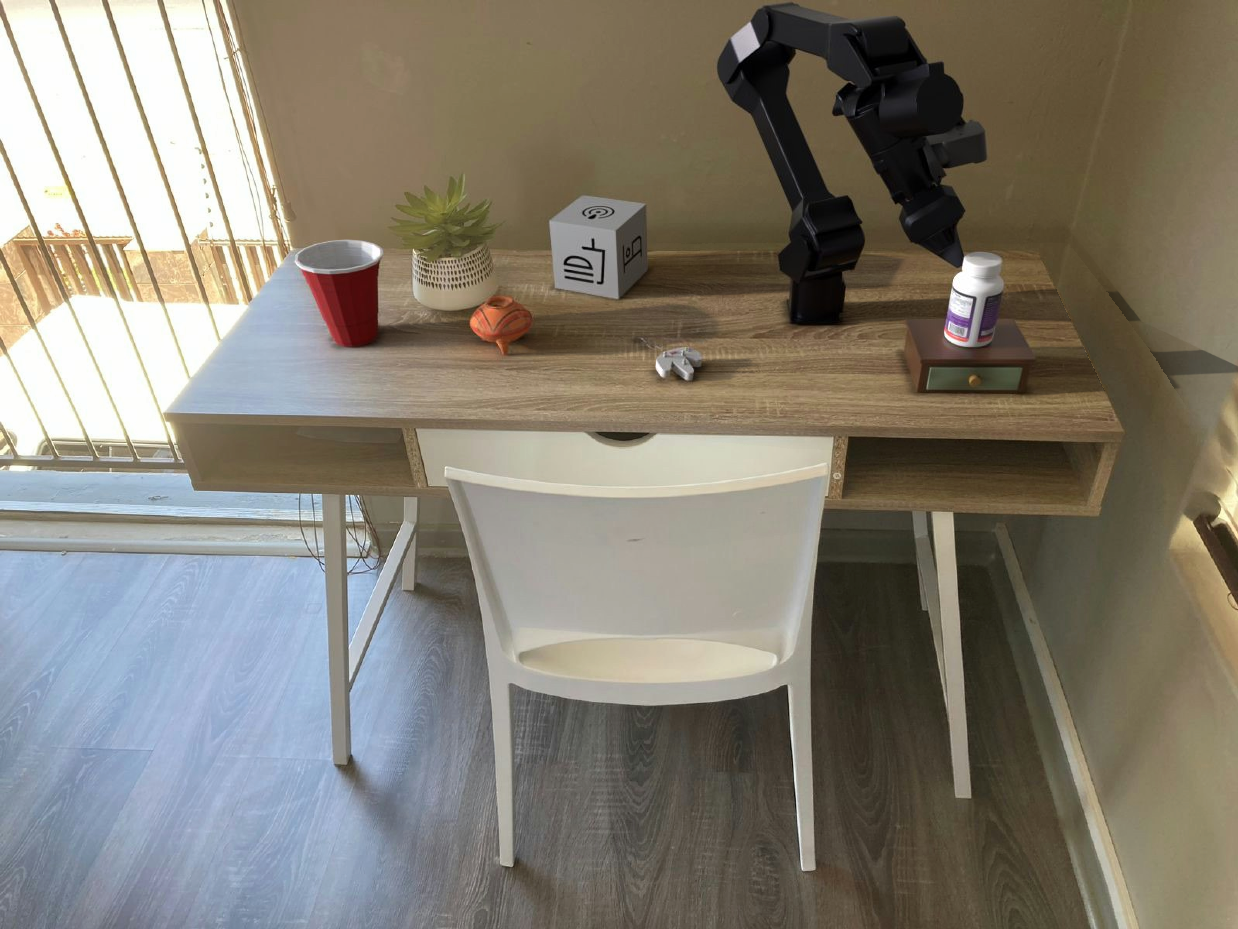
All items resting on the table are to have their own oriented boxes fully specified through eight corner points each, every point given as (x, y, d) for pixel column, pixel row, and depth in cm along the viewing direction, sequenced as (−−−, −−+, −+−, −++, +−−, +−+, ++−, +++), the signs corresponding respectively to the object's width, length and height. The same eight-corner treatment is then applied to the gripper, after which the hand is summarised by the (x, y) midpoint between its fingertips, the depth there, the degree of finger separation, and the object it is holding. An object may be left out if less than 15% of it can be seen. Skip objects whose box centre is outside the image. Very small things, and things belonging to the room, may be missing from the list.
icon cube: (618, 299, 131) (615, 230, 125) (555, 287, 134) (549, 220, 128) (647, 270, 138) (646, 203, 132) (586, 260, 141) (582, 195, 136)
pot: (461, 355, 119) (457, 302, 116) (487, 340, 126) (484, 289, 123) (519, 361, 117) (517, 307, 114) (543, 344, 124) (541, 293, 121)
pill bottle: (987, 326, 111) (1003, 248, 105) (997, 349, 106) (1014, 269, 101) (939, 325, 111) (953, 248, 106) (947, 348, 107) (962, 269, 101)
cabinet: (915, 397, 108) (921, 362, 105) (900, 352, 116) (905, 318, 113) (1029, 397, 107) (1038, 362, 104) (1006, 352, 115) (1013, 318, 112)
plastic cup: (415, 333, 125) (399, 248, 118) (346, 365, 119) (325, 278, 112) (368, 309, 131) (350, 227, 124) (300, 339, 125) (277, 254, 118)
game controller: (681, 388, 111) (681, 368, 110) (608, 359, 118) (607, 340, 116) (710, 368, 115) (710, 349, 113) (638, 340, 121) (637, 322, 119)
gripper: (977, 117, 92) (1043, 242, 99) (944, 72, 108) (1002, 184, 114) (874, 181, 97) (943, 297, 103) (856, 130, 112) (917, 234, 119)
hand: (954, 249), depth 110 cm, fingers open, 9 cm apart
